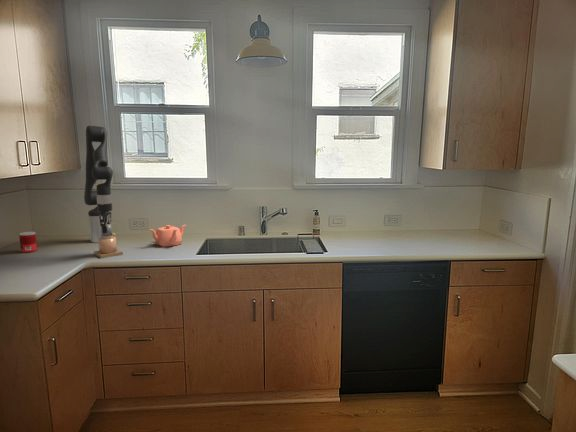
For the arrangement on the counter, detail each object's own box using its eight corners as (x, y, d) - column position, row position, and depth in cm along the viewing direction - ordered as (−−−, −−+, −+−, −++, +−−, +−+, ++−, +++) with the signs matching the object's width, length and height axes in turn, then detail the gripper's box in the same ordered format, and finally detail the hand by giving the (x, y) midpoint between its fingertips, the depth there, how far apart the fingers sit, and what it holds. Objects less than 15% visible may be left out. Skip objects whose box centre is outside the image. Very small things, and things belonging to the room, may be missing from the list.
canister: (93, 253, 217) (92, 233, 215) (115, 250, 225) (113, 230, 223) (100, 258, 209) (99, 237, 206) (122, 254, 217) (121, 234, 215)
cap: (99, 236, 212) (99, 225, 211) (104, 234, 217) (103, 223, 216) (113, 236, 212) (112, 225, 211) (116, 234, 218) (116, 223, 217)
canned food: (40, 250, 223) (38, 232, 221) (27, 253, 215) (25, 235, 214) (31, 249, 225) (29, 231, 223) (18, 252, 218) (15, 233, 216)
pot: (176, 248, 231) (175, 228, 229) (149, 247, 233) (148, 227, 231) (187, 241, 249) (186, 223, 247) (161, 240, 251) (161, 222, 249)
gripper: (101, 200, 218) (103, 229, 221) (93, 204, 204) (95, 234, 207) (115, 200, 219) (117, 229, 222) (107, 204, 205) (109, 234, 208)
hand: (106, 231), depth 214 cm, fingers closed on cap, 5 cm apart
